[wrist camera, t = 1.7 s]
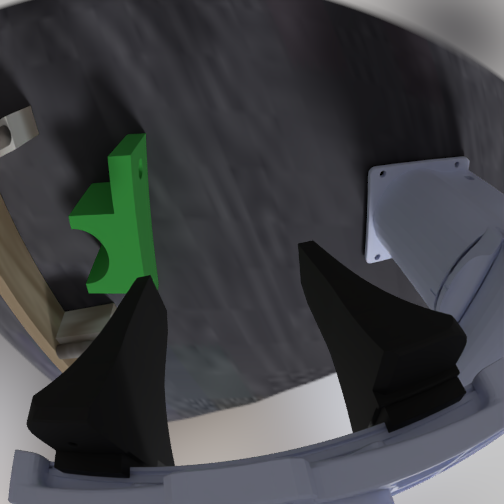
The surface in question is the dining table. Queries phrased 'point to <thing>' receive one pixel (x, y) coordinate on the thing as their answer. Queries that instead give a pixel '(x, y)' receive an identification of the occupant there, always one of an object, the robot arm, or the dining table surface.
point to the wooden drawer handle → (40, 276)
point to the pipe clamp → (119, 220)
